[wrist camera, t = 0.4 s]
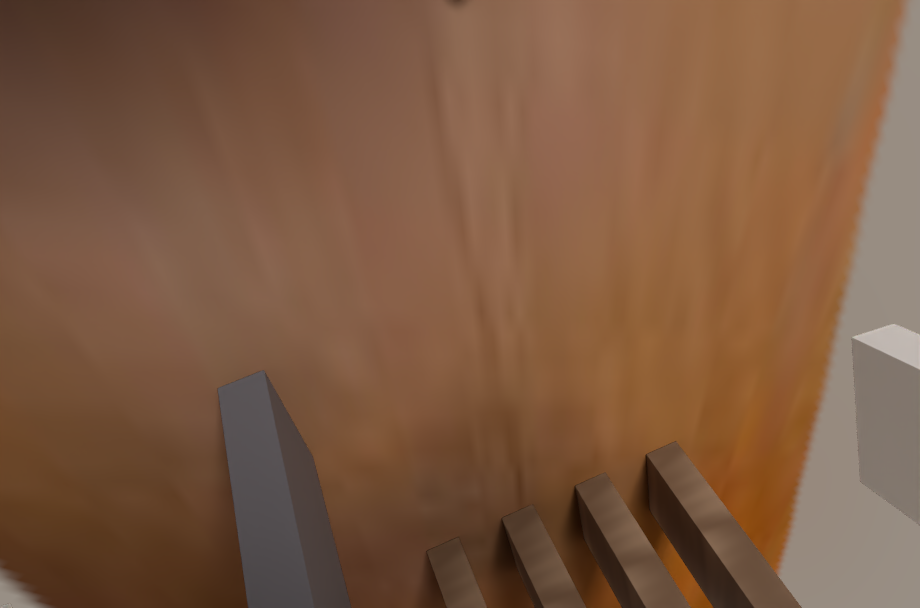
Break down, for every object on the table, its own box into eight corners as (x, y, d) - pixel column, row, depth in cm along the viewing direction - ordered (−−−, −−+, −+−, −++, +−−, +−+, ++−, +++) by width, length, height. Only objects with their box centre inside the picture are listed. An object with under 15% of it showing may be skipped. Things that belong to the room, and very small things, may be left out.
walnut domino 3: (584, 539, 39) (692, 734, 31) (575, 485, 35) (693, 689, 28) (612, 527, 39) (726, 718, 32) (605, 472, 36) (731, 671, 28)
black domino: (272, 474, 28) (326, 747, 21) (217, 388, 25) (257, 677, 17) (313, 457, 28) (380, 722, 21) (263, 369, 25) (322, 648, 18)
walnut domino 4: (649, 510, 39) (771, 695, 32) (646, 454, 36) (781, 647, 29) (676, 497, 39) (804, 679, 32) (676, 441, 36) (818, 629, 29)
